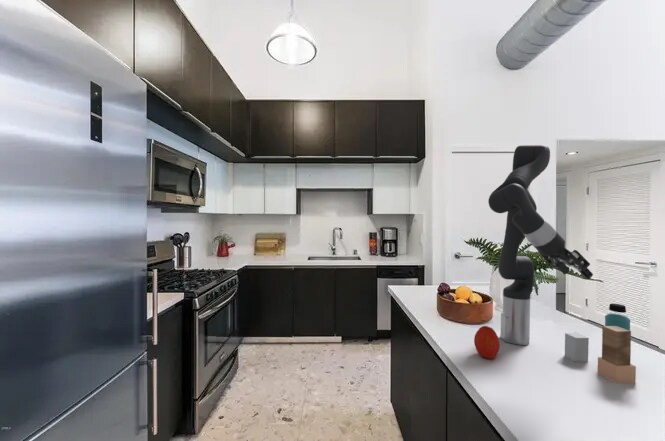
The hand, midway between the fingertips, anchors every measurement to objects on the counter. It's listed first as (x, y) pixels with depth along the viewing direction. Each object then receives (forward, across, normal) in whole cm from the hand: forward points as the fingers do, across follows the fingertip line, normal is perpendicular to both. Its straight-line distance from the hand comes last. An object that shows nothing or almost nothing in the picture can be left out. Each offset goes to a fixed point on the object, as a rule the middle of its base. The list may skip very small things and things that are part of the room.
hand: (577, 274), depth 96 cm
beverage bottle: (+35, +5, +9) cm, 36 cm away
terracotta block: (+29, -3, +15) cm, 33 cm away
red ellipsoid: (+6, +12, +37) cm, 40 cm away
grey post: (+28, +10, +16) cm, 33 cm away
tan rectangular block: (+25, -3, +11) cm, 28 cm away
